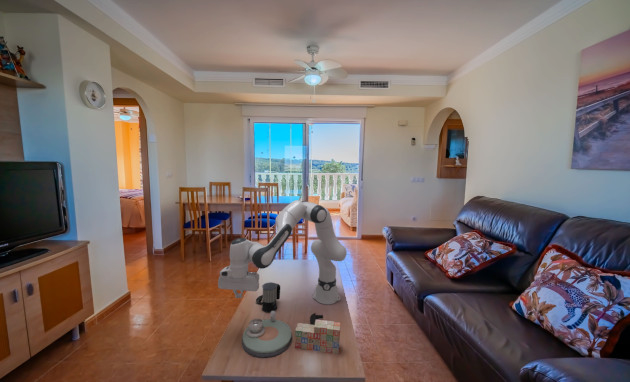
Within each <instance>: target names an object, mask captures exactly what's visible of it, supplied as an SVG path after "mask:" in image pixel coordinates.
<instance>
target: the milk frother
mask: <svg viewBox="0 0 630 382" xmlns="http://www.w3.org/2000/svg"><path fill="white" fill-rule="evenodd" d="M261 287H262V294H261V295H259V296H258V297H257V298H256V299H255V303H256V304H258V305H262V307H261V309H262V312H264V313H268V314H269V313H270V314H271V311H275V312H276V311H277V309H278V304H277V303H278V300H280V297H281V285H280V284H279V283H275V282H270V281H269V282H265V283H263V285H262V286H261Z"/></svg>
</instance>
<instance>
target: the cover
mask: <svg viewBox="0 0 630 382" xmlns="http://www.w3.org/2000/svg"><path fill="white" fill-rule="evenodd" d="M262 320H263V319H260V318H253V319H252V320H250V321H249V323H248V324H249V325H248V326H249V328H248V329H247V336H248V337H250V338H259V337H261V336H263V335H264V333H265V327H264V326H262Z"/></svg>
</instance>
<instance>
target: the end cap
mask: <svg viewBox="0 0 630 382" xmlns="http://www.w3.org/2000/svg"><path fill="white" fill-rule="evenodd" d="M323 319H324V315H323V314H317V313H316V312H314V313H312V314H311V315H310V316H309V324H310V325H315V321H316V320H323Z"/></svg>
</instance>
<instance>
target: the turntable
mask: <svg viewBox="0 0 630 382" xmlns="http://www.w3.org/2000/svg"><path fill="white" fill-rule="evenodd" d="M261 320H262V326H264V327H265V333H264V335H263V336H261V337H259V338H250V337H248V336H247V329H248V328H249V325H248V326H247V327H246V328H245V330H244V332H243V334H242V337H243V343H244V345H245V347H246V348H247V349H249V350H250V351H253V352H256V353H272V352H276V351H278V350H280V349H282V348H284V347H285V346H286V345H287V344H288V343H289V341H290V339H291V332H292V328H291V327H290V326H289V325H288V323H286V322H285V321H283V320H279V319H276V311H271V312H270V318H269V319H267V318H266V319H261Z"/></svg>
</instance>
